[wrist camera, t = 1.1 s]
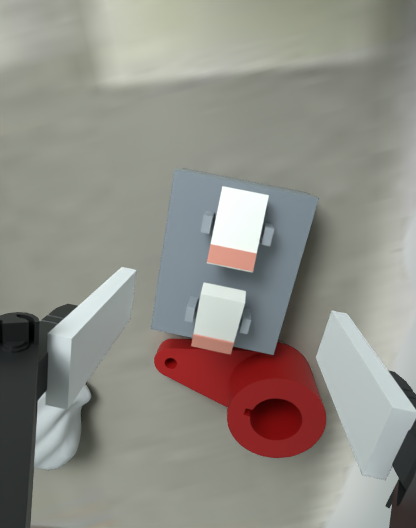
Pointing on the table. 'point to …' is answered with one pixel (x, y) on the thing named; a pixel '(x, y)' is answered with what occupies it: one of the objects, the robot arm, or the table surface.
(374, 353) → the robot arm
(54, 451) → the shell shaped sculpture
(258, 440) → the lever
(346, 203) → the table surface
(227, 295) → the rocker
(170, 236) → the panel
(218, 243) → the rocker
